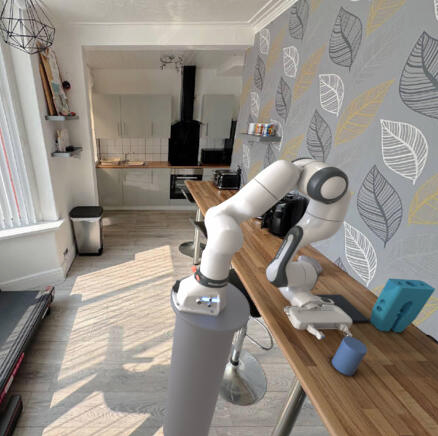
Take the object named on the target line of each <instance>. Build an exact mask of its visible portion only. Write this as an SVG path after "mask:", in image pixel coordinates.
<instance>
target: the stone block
mask: <svg viewBox="0 0 438 436" xmlns="http://www.w3.org/2000/svg"><path fill="white" fill-rule="evenodd" d="M297 262H309V263H311V264H312V265H313V266H314V267H315V268H316V270H317V272H318V275H320V274H321V273H322V272H323V267H322V265H321V263H320V262H319V260H317V259H316V258H313V257H311V256H309V255H299V256H298V258H297Z"/></svg>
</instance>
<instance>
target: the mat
mask: <svg viewBox="0 0 438 436" xmlns="http://www.w3.org/2000/svg"><path fill="white" fill-rule="evenodd" d="M315 295H316V296H318V297H322V298H326V299H330V300H332V301H333V302H334V305H335V306H338V307H339V308H340V309H342V310H343V311H344V312H345V313H346V314H347V315H348V316H349V317H350V318H351V319H352V323H368V322H370V319H369V318H368V317H367V316H365V315H364V313H362V312H361V311H360V310H358V308H356V307H355V306H354V305H353V304H352V303H350V302H349V300H347V299H346V298H345V297H344V296H343V295H341V294H315Z"/></svg>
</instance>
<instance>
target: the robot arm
mask: <svg viewBox="0 0 438 436" xmlns="http://www.w3.org/2000/svg"><path fill="white" fill-rule="evenodd" d="M349 183H350V181H349V177H348V175H347V174H346V173H345V172H344V171H343V170H342V169H340V168H339V167H336V166H333V165H331V164H328V163H327V162H325V161H323V160H319V159H315V158H314V159H313V158H312V157H307V156H306V157H298V158H295V159H293V160H291V161H290V160H288V159H277V160H276V161H274V162H272V163H271V164H269V165H268V166H266V167H265V168H264V169H263V170H261V171H260V172H259V173H258V174H257V175H255V176H254V177H253V178H252V179H251V180H249V182H247V183H246V184H245V185H244V186H243V187H242V188H241V189H240V190H239V191H238V192H236V193H235V194H234V195H233V196H231V197H229V198H228V199H226V200H225V201H223V202H221V203H220V204H218V205H213V206H211V207H210V208H208V209H207V211H206V212H205V215H204V226H205V229H206V235H207V242H206V245H205V248H204V249H203V250H202V254H201V260H200V266H198V268H197V266H196V265H193V266H191V270H192V272H193V273H194V274H191V275H192V276H191V275H189V276H190V277H188V278H186V279H184V280H182V281H180V279H176V281H175V283H174V284H175V285H174V284H173V285H172V287H171V290H172V289H173V293H172V297H173V301H174V304H175V306H176V307H177V309H178V310H179V311H182V312H188V313H196V314H203V315H210V316H218V315H219V313H220V311H221V310H223V309H224V308H225V307H226V304H227V301H226V286H227V284H228V283H229V279H230V269H231V265H232V260H233V259H234V256H235V254H236V253H238V252H239V251H241V249H242V248H243V246H244V242H245V240H244V233H243V230H242V228H241V226H240V225H241V224H243V223H244V222H246V221H248V220H252V219H258V218H260V217H262V216H263V215H264V214H265V213H266V212H267V211H270V209H271V208H272V207H273V206H275V205H276V204H277V203H278V202H280V200H281V199H283V198H284V197H285V196H286V195H287V194H289V193H290V192H292V191H295V190H297V191H298V192H299V193H300V194H302V195H304V196H306V197H308V198H309V201H308V202H309V203H308V205H307V207H306V210H305V211H304V214H303V216H302V217H301V219H300V220H299V221H298V222H297V223H296V224H295V225H294V226H292V227H291V228H290V229H289V230H288V232H287V233H286V235H285V236H284V238H283V240H282V241H281V244H280V246H279V248H278V250H277V251H276V253H275V255H274V256H273V258H272V260H271V261H270V262H269V263H268V265H267V266H266V270H265V278H266V280H267V281H268V283H270V284H271V286H273V287H274V288H277V289H278V290H279V292H280V294H281V295H282V296H283V297H284V299H285V300H287V301H289V303H290V305H285V306H284V307H283V312H284V313H285V314H286V315H287V318H288V320H289V322H290V323H291V325H292V326H293V328H295V329H296V330H300V331H301V330H304V331H305V330H307V331H308V333H310V334H312V335H314V336H315V337H316V338H317V339H318V340H324V339H325V338H326V335H325V334H324V333H323V331H319V330H340V331H341V332H342V337H343V338H344V337H347V336H349V337H353V334H352V333H351V332H350V329H351V327H352V325H353V322H352V319H351V318H350V317H349V316H348V315H347V314H346V313H345V312H344V311H343V310H342V309H340V308H339V307H338V306H335V305H334V302H333V301H332V300H330V299H326V298H322V297H318V296H316V295H317V294H313V293H312V292H311V291H313V289H314V288H315V286H316V285H317V283H318V281H319V277H320V274H318V272H317V270H316V268H315V267H314V266H313V265H312V264H311V263H309V262H298V261H294V259H295V258H296V255H297V254H298V252H299V251H300V250H301V249H302V248H303V247H305V246H309V245H310V244H313V243H316V242H321V241H324V240H328V239H330V238H332V237H334V236H335V235H336V234H337V233H338V232H339V231H340V229H341V227H342V225H343V223H344V221H345V218H346V216H347V213H348V210H349V207H350V202H351V197H352V192H351V189H350V188H349Z"/></svg>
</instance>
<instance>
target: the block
mask: <svg viewBox="0 0 438 436" xmlns="http://www.w3.org/2000/svg"><path fill="white" fill-rule="evenodd" d="M435 291H436V288H435V287H433V286H432V285H430V284H428V283H426V282H425V281H423V280H420V279H406V278H405V279H403V278H388V280H387V281H386V283H385V285H384V287H383V289H382V290H381V292H380V294H379V295H378V298H377V299H376V301H375V302H374V305H373V306H372V309H371V315H370V319H369V322H370V323H371V324H372V325H373V326H374V327H375V328H376V329H377V330H378V331H380V332H390V331H391V330H392V331H393V332H394V333H403V331H405V330H406V329H407V328H408V327H409V326H410V325H411V324H412V323H413V322H414V321H415V320H416V319H417V317H418V316H419V314H420V313H421V311H422V310H423V309H424V307H425V306H426V304H427V303H428V301H429V299H430V298H431V296H432V295H433V293H434V292H435Z"/></svg>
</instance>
